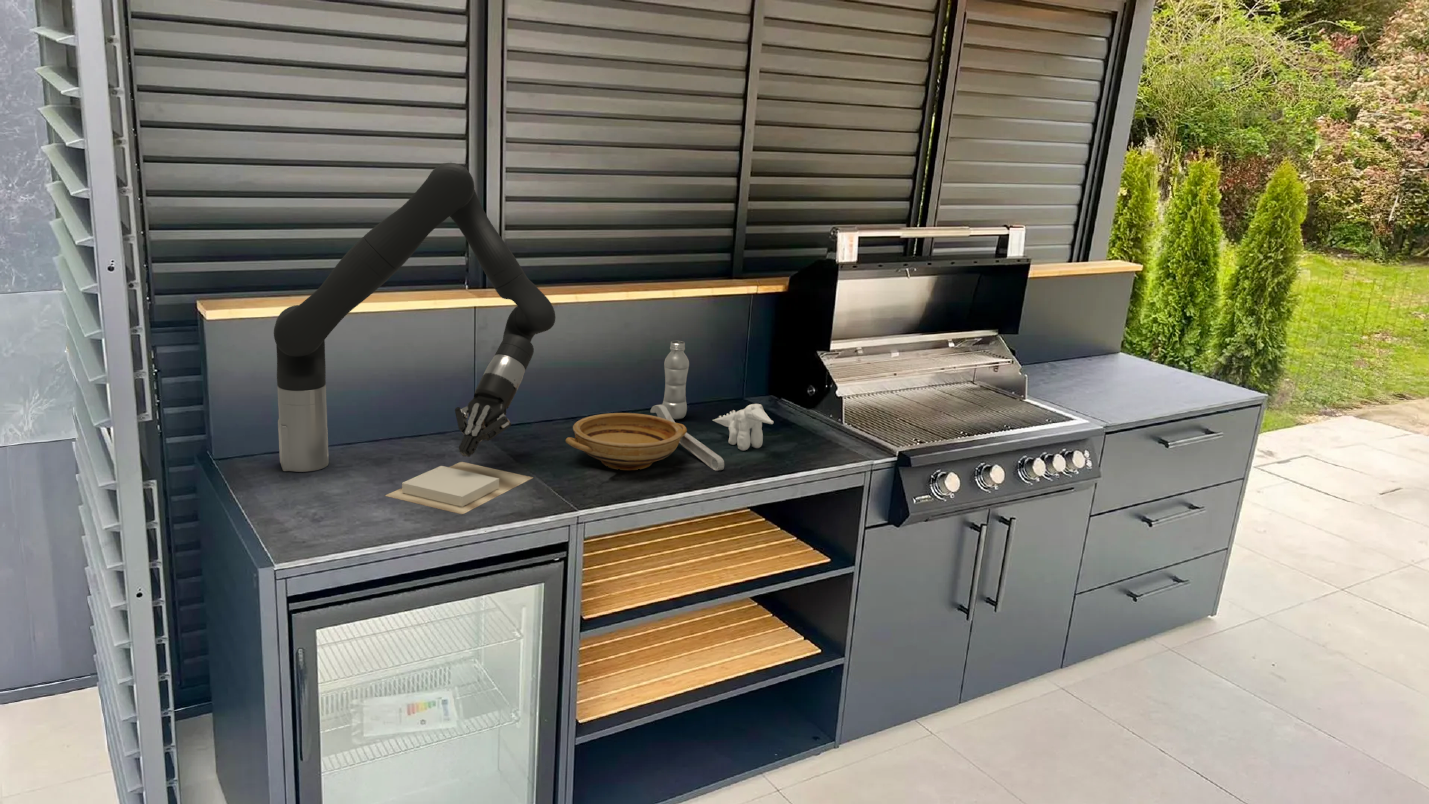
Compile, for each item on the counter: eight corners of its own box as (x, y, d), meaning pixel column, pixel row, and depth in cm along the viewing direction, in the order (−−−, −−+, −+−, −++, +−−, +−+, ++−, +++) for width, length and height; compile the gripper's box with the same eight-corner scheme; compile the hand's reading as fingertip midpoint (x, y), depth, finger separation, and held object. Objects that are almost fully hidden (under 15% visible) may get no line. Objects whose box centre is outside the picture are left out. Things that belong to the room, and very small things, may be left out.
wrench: (715, 484, 232) (647, 432, 254) (722, 482, 233) (654, 431, 255) (720, 450, 229) (651, 401, 251) (727, 449, 230) (657, 400, 252)
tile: (441, 475, 213) (402, 493, 202) (441, 465, 212) (401, 482, 202) (499, 488, 208) (462, 507, 197) (499, 478, 207) (462, 496, 197)
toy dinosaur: (760, 458, 239) (761, 410, 237) (700, 439, 258) (700, 394, 256) (783, 454, 243) (784, 407, 241) (723, 435, 262) (723, 392, 260)
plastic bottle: (687, 416, 271) (692, 340, 266) (684, 423, 265) (688, 346, 260) (663, 413, 272) (667, 338, 267) (659, 421, 265) (663, 343, 260)
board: (462, 521, 194) (462, 514, 194) (384, 502, 201) (384, 495, 201) (533, 484, 216) (533, 477, 215) (461, 468, 222) (461, 461, 222)
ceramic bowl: (654, 438, 251) (656, 406, 249) (712, 469, 232) (714, 434, 230) (542, 455, 234) (542, 420, 232) (594, 489, 215) (595, 452, 213)
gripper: (465, 367, 214) (428, 439, 206) (520, 376, 209) (484, 451, 202) (481, 386, 220) (445, 457, 213) (534, 396, 215) (500, 469, 208)
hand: (464, 454), depth 207 cm, fingers closed
